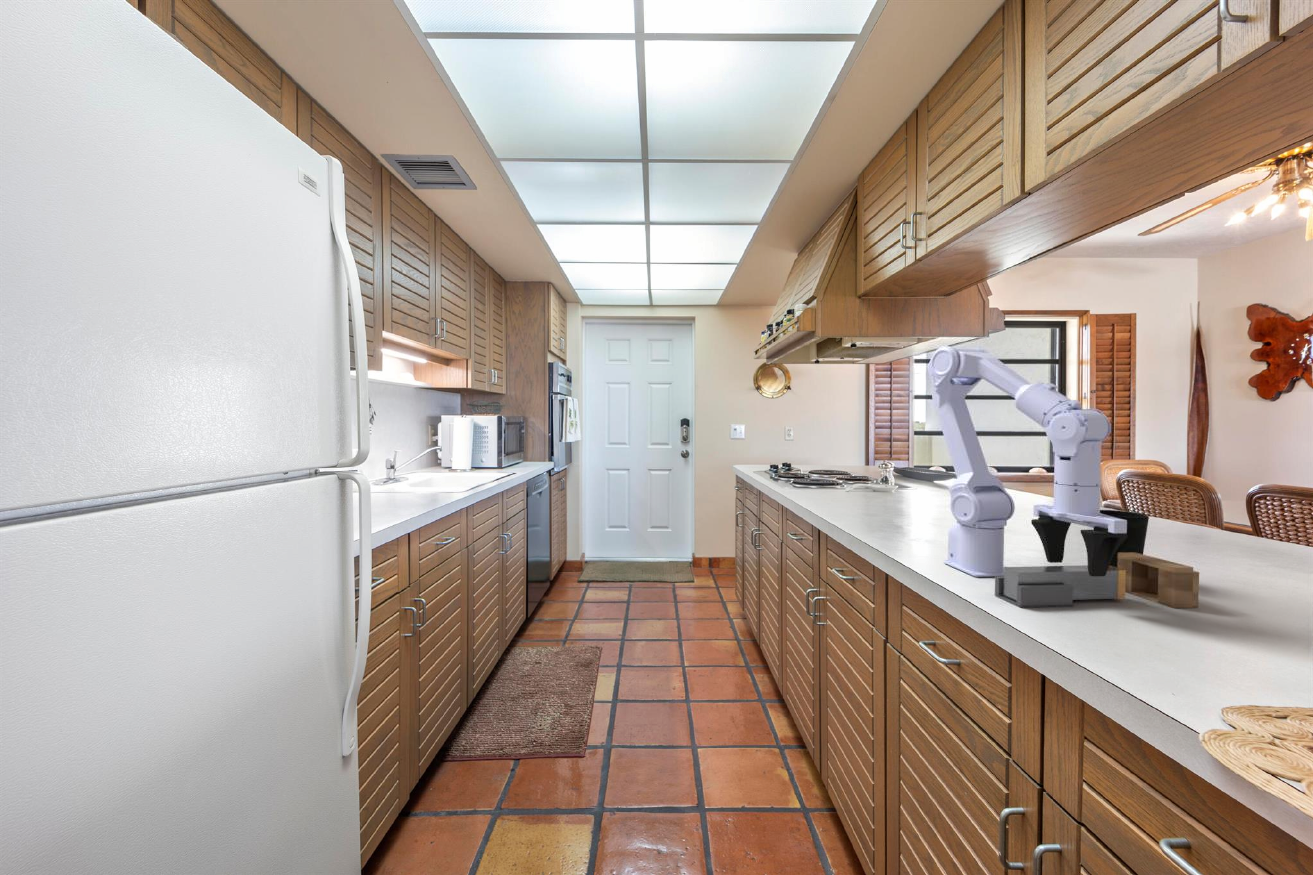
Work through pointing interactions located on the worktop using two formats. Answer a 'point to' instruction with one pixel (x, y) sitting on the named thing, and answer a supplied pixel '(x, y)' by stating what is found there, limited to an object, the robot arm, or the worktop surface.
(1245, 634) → the worktop surface
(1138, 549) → the cup
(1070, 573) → the bar
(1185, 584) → the socket
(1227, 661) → the worktop surface
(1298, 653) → the worktop surface
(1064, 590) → the grey u-shaped channel
